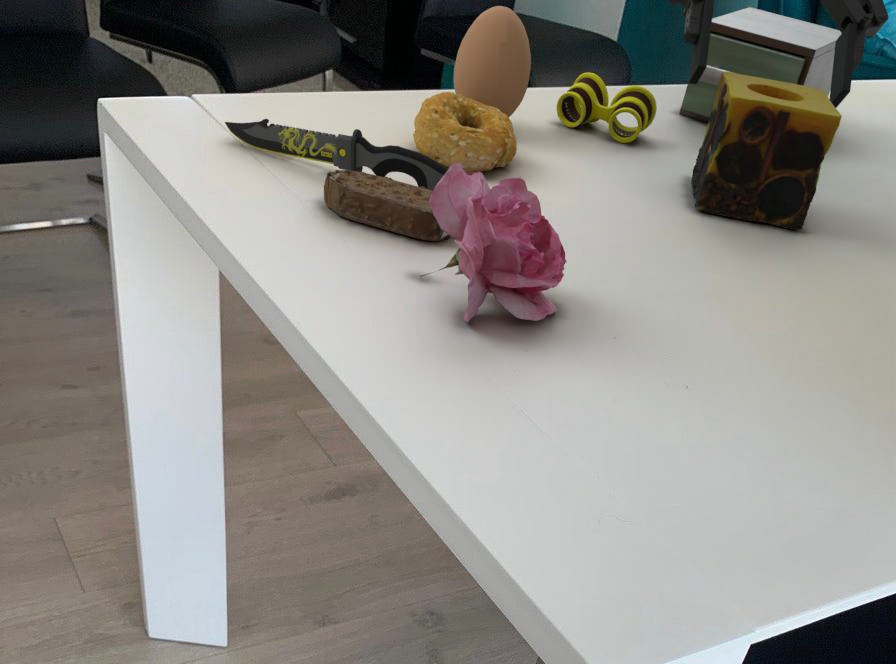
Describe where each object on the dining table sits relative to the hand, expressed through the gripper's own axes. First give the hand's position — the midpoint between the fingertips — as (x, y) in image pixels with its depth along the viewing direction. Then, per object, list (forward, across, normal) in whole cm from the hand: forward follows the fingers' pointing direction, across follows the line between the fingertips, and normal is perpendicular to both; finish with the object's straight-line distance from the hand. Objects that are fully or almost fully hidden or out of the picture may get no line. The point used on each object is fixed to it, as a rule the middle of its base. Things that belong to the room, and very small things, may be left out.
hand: (768, 87), depth 95 cm
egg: (+1, +25, -13) cm, 28 cm away
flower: (+31, +24, +18) cm, 44 cm away
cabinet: (-14, -8, -28) cm, 32 cm away
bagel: (+9, +27, -4) cm, 29 cm away
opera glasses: (-3, +12, -16) cm, 21 cm away
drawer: (-12, -6, -24) cm, 28 cm away
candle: (+10, 0, -4) cm, 10 cm away
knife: (+16, +38, +3) cm, 42 cm away
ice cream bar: (+23, +31, +9) cm, 40 cm away
